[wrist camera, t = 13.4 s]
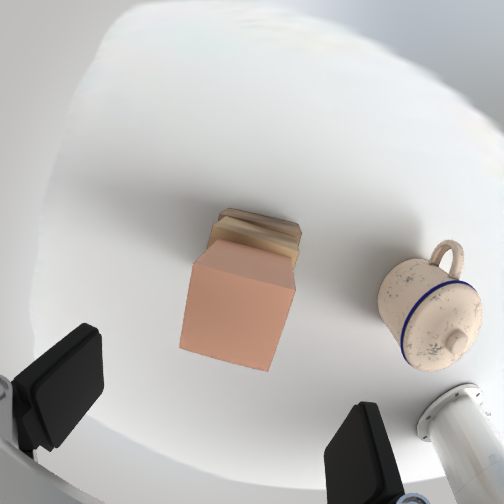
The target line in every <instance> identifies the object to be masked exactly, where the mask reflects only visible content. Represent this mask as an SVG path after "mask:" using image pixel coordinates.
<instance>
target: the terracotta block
mask: <svg viewBox="0 0 504 504" xmlns="http://www.w3.org/2000/svg"><path fill="white" fill-rule="evenodd" d="M295 291H296V289H295V282H294V275H293V268H292V261H291V257H288V256H284V255H280V254H276V253H273V252H269V251H265V250H261V249H257V248H253V247H250V246H246V245H242V244H238V243H234V242H230V241H226V240H223V239H219V238H218V239H217V240H216V241H215V242H214V243H213V244H212V245H211V246H210V247H209V248H208V249H207V250H206V251H205V252H204V253H203V254H202V255H201V256H200V257H199V258H198V259H197V260H196V261H195V262H194V263H193V268H192V273H191V278H190V284H189V290H188V295H187V301H186V307H185V313H184V320H183V326H182V332H181V339H180V346H179V348H181V349H185V350H188V351H191V352H194V353H198V354H201V355H204V356H208V357H211V358H215V359H219V360H222V361H226V362H230V363H233V364H237V365H241V366H245V367H249V368H253V369H258V370H262V371H266V372H268V371H269V368H270V365H271V362H272V359H273V357H274V354H275V351H276V348H277V345H278V342H279V339H280V336H281V333H282V330H283V327H284V325H285V322H286V319H287V315H288V312H289V309H290V306H291V303H292V300H293V297H294V294H295Z"/></svg>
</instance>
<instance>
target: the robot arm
mask: <svg viewBox="0 0 504 504" xmlns="http://www.w3.org/2000/svg"><path fill="white" fill-rule="evenodd" d="M103 389H104V377H103V360H102V336H101V334H100V333H99V331H98V329H97V328H95V327H93V326H91V325H89V324H87V323H82V324H81V325H79V326H78V327H77V328H76V329H74V330H73V331H72V332H70V333H69V334H68V335H67V336H65V337H64V338H63V339H62V340H60V341H59V342H58V343H56V344H55V345H54V346H53V347H51V348H50V349H49V350H48V351H46V352H45V353H44V354H43V355H41V356H40V357H39V358H38V359H37V360H35V361H34V362H33V363H32V364H30V365H29V366H28V367H27V368H26V369H24V370H23V371H22V372H21V373H20V374H18V375H17V376H16V377H15V378H14V380H13V381H11V382H10V381H9V380H8V379H7V378H6V377H4V376H2V375H0V504H107V503H105V502H103V501H101V500H99V499H97V498H95V497H93V496H91V495H90V494H88V493H86V492H84V491H82V490H80V489H78V488H76V487H75V486H73V485H72V484H70V483H68V482H66V481H65V480H63V479H61V478H60V477H58V476H57V475H55V474H54V473H52V472H50V471H49V470H47V469H46V468H44V467H43V466H41V465H40V464H38V460H37V453H36V449H37V448H38V447H39V445H40V446H42V447H43V448H45V449H46V450H48V451H49V452H51V451H52V450H53V448H54V447H55V448H58V447H59V446H60V445H61V444H62V443H63V441H64V440H65V439H66V437H67V436H68V435H69V434H70V433H71V431H72V430H73V429H74V427H75V426H76V425H77V424H78V422H79V421H80V420H81V419H82V417H83V416H84V415H85V414H86V412H87V411H88V410H89V409H90V407H91V406H92V405H93V404H94V402H95V401H96V400H97V399H98V397H99V396H100V395H101V394H102V392H103ZM482 396H483V395H482V391H481V390H480V389H479V387H478V386H477V385H474V384H465V385H461V386H458V387H456V388H454V389H452V390H450V391H448V392H446V393H445V394H443V395H442V396H441V397H439V398H438V399H437V400H436V401H435V402H433V403H432V404H431V405H430V406H429V407H428V408H427V410H426V411H425V412H424V414H423V415H422V416H421V418H420V420H419V422H418V425H417V433H418V436H419V438H420V439H421V440H423V441H425V442H432V444H433V446H434V448H435V450H436V453H437V455H438V457H439V460H440V462H441V464H442V467H443V469H444V471H445V474H446V476H447V479H448V481H449V484H450V486H451V488H452V491H453V494H454V496H455V499H456V501H457V504H504V441H503V440H502V438H501V436H500V435H499V433H498V432H497V430H496V429H495V427H494V426H493V424H492V423H491V421H490V420H489V418H490V417H491V413H490V412H484V410H483V409H482V408H481V406H480V405H481V402H482ZM324 463H325V475H326V489H327V504H430V502H429V501H428V500H427V499H426V498H425V497H424V496H422V495H420V494H417V493H409V494H405V492H404V488H403V484H402V481H401V477H400V474H399V470H398V467H397V464H396V460H395V457H394V454H393V451H392V447H391V444H390V441H389V439H388V436H387V433H386V430H385V427H384V424H383V421H382V418H381V415H380V412H379V409H378V406H377V404H376V403H371V402H360V403H359V404H358V405H354V406H353V408H352V409H351V411H350V413H349V414H348V416H347V417H346V419H345V420H344V422H343V424H342V425H341V427H340V428H339V430H338V431H337V433H336V434H335V436H334V437H333V439H332V440H331V441H330V443H329V444H328V446H327V447H326V449H325V452H324Z"/></svg>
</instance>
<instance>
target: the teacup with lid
mask: <svg viewBox="0 0 504 504" xmlns="http://www.w3.org/2000/svg"><path fill="white" fill-rule="evenodd" d="M449 249H452V251H453V262H452V266H451V269H450V272H449V274H448V273H447V272H445V271H444V270H442V269H440V268H439V264H440V261H441V259H442V257H443V255H444V253H445V252H446V251H447V250H449ZM463 265H464V252H463V248H462V246H461V245H460V244H459V243H458V242H455V241H453V240H445V241H443V242H441V243H440V244H438V245H437V247H436V248H435V249H434V251H433V253H432V255H431V258H430V261H427V260H424V259H410V260H406V261H404V262H402V263H400V264H398V265H397V266H395V267H394V268H393V269H392V270H391V271H390V272H389V273H388V274H387V276H386V277H385V279H384V280H383V282H382V284H381V287H380V289H379V293H378V300H377V304H378V310H379V314H380V316H381V318H382V319H383V321H384V322H385V324H386V325H387V327H388V329H389V330H390V332H391V333H392V335H393V336H394V338H395V339H396V341H397V342H398V344H399V346H400V347H401V352H402V354H403V357H404V359H405V360H406V361H407V362H408V364H410V365H411V366H412V367H414V368H416V369H418V370H422V371H437V370H441V369H444V368H446V367H448V366H450V365H452V364H453V363H455V362H456V361H457V360H459V359H460V358H461V357H462V356H463V355H464V354H465V353H466V352H467V351H468V350H469V348H470V347H471V346H472V344H473V342H474V341H475V339H476V337H477V335H478V333H479V330H480V327H481V322H482V313H483V312H482V304H481V300H480V298H479V296H478V293H477V292H476V290H475V289H474V288H473V287H472V286H471V285H470V284H468V283H466V282H463V281H459V278H460V275H461V272H462V269H463Z"/></svg>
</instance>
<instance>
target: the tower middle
mask: <svg viewBox="0 0 504 504" xmlns="http://www.w3.org/2000/svg"><path fill="white" fill-rule="evenodd" d="M218 238H219V239H223V240H226V241H230V242H234V243H238V244H242V245H246V246H250V247H253V248H257V249H261V250H265V251H269V252H273V253H276V254H280V255H284V256H288V257H291V261H292V268H293V269H294V266H295V263H296V260H297V258H298V255H299V248H298V245H297V241H296V237H293V236H290V235H287V234H283V233H280V232H277V231H274V230H271V229H267V228H264V227H261V226H258V225H254V224H251V223H248V222H245V221H241V220H238V219H235V218H231V217H228V216H225V217H224V218H222V219H221V220H220V221H218V222H217V223H215V224H214V225H213V227H212V231H211V234H210V238H209V242H208V246H207V249H208V248H209V247H210V246H211V245H212V244H213V243H214V242H215V241H216V240H217V239H218Z"/></svg>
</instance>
